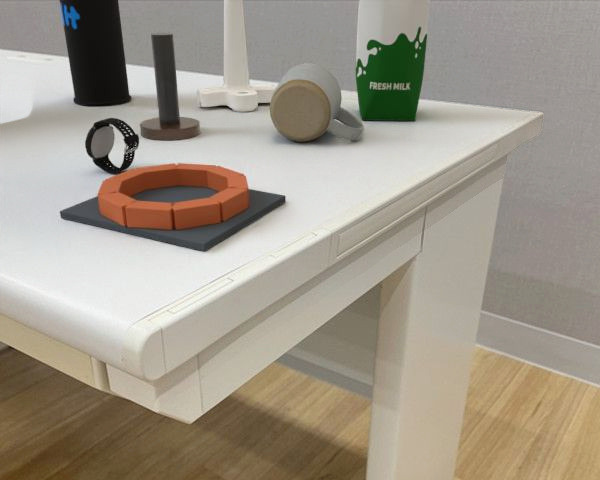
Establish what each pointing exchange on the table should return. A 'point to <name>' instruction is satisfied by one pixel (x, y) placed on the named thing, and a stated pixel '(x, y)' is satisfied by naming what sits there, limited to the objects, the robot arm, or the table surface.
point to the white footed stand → (235, 68)
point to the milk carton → (390, 57)
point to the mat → (187, 237)
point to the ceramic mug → (311, 106)
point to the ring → (180, 214)
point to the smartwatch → (110, 144)
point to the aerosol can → (95, 51)
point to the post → (167, 96)
